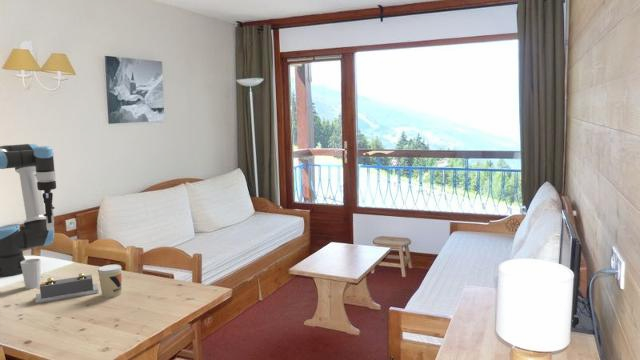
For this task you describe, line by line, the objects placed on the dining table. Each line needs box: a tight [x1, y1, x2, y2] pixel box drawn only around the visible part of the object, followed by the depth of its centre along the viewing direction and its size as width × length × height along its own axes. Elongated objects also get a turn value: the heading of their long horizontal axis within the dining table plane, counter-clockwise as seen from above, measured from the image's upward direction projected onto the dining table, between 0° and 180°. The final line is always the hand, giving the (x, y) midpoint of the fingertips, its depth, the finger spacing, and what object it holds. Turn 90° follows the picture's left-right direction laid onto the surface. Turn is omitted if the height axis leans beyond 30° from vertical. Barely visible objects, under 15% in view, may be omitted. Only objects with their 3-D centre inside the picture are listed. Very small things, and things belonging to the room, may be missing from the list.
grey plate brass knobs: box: [35, 272, 99, 304], centre depth 219 cm, size 24×8×8 cm, turn 117°
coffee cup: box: [97, 264, 123, 298], centre depth 218 cm, size 9×9×12 cm
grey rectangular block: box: [39, 274, 94, 298], centre depth 219 cm, size 20×6×6 cm, turn 117°
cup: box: [20, 258, 42, 290], centre depth 232 cm, size 8×8×12 cm
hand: (50, 226), depth 233 cm, fingers open, 13 cm apart
